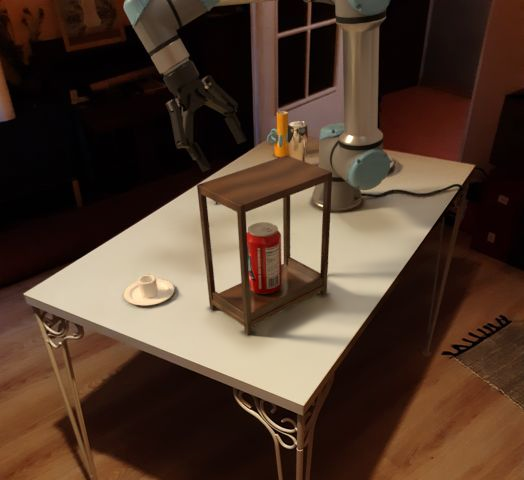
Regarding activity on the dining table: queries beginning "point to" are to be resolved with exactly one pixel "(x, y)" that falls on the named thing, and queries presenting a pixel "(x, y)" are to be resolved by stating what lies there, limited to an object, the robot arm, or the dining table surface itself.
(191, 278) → the dining table surface
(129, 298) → the candle holder
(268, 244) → the soda can
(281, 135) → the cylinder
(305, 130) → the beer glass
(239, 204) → the shelf stand
